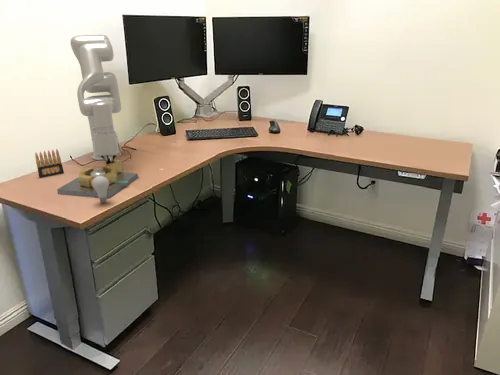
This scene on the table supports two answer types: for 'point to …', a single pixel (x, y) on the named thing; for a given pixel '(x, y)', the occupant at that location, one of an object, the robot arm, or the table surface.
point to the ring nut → (110, 174)
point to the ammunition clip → (49, 164)
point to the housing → (79, 190)
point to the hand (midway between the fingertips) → (111, 168)
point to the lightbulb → (101, 187)
